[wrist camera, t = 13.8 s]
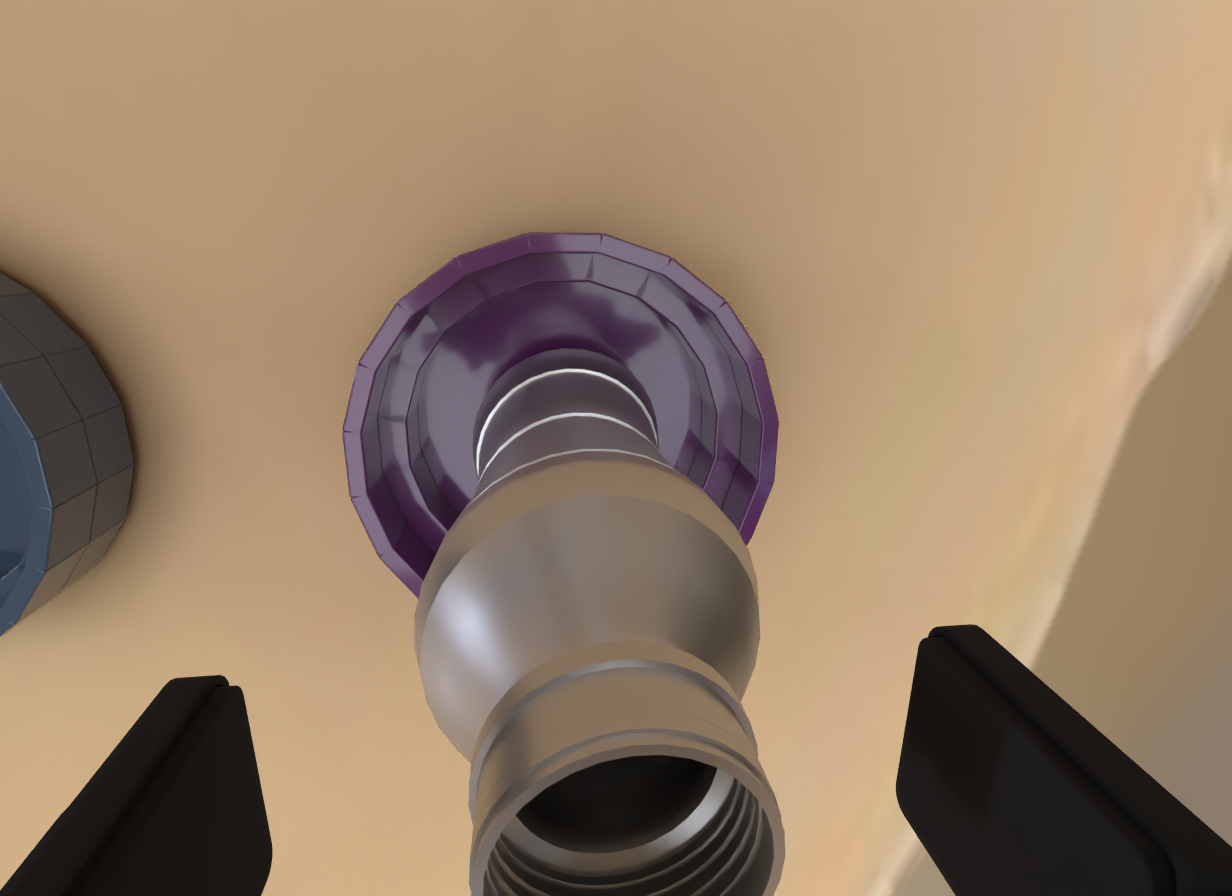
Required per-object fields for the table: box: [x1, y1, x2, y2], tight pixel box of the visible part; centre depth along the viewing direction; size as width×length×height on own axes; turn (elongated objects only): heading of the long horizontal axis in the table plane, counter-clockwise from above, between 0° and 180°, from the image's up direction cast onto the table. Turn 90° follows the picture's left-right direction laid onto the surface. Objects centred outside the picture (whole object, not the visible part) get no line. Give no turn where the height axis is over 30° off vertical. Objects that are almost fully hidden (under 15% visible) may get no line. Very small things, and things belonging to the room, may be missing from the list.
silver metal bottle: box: [415, 348, 785, 896], centre depth 17 cm, size 6×7×20 cm
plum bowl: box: [342, 232, 779, 599], centre depth 25 cm, size 14×14×5 cm
